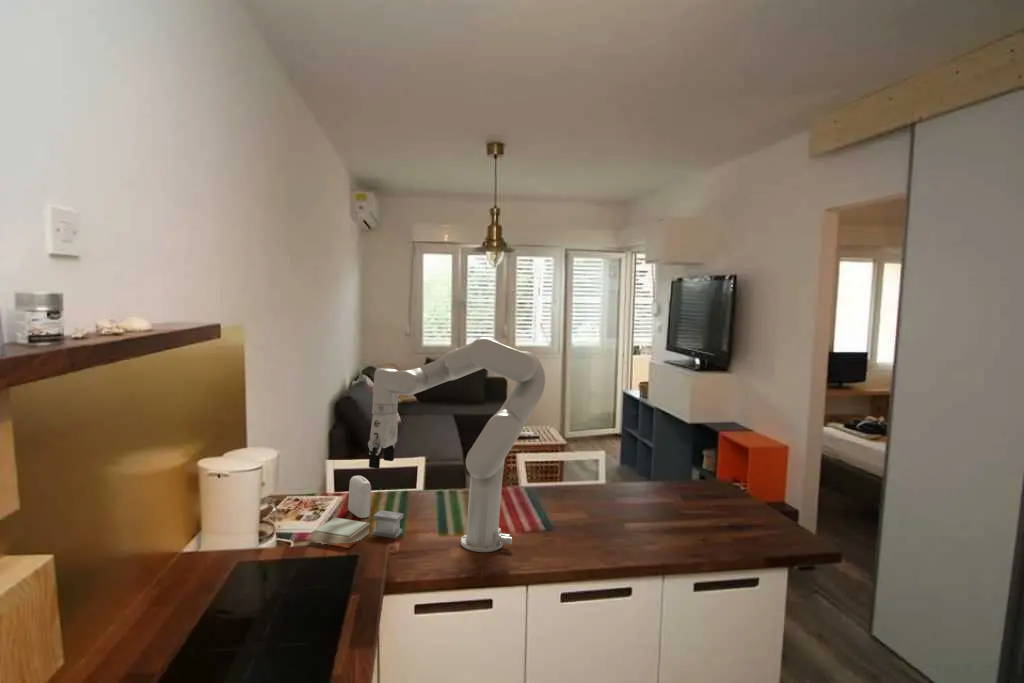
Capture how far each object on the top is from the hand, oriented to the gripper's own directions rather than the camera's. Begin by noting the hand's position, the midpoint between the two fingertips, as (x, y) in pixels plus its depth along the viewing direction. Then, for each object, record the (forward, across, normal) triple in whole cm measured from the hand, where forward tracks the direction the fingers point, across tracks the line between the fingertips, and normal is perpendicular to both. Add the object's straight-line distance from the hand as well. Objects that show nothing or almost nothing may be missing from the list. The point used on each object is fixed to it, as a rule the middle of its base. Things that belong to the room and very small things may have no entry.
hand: (381, 464), depth 162 cm
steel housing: (+21, -1, -4) cm, 21 cm away
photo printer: (+21, +11, +12) cm, 27 cm away
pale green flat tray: (+21, -9, +7) cm, 24 cm away
